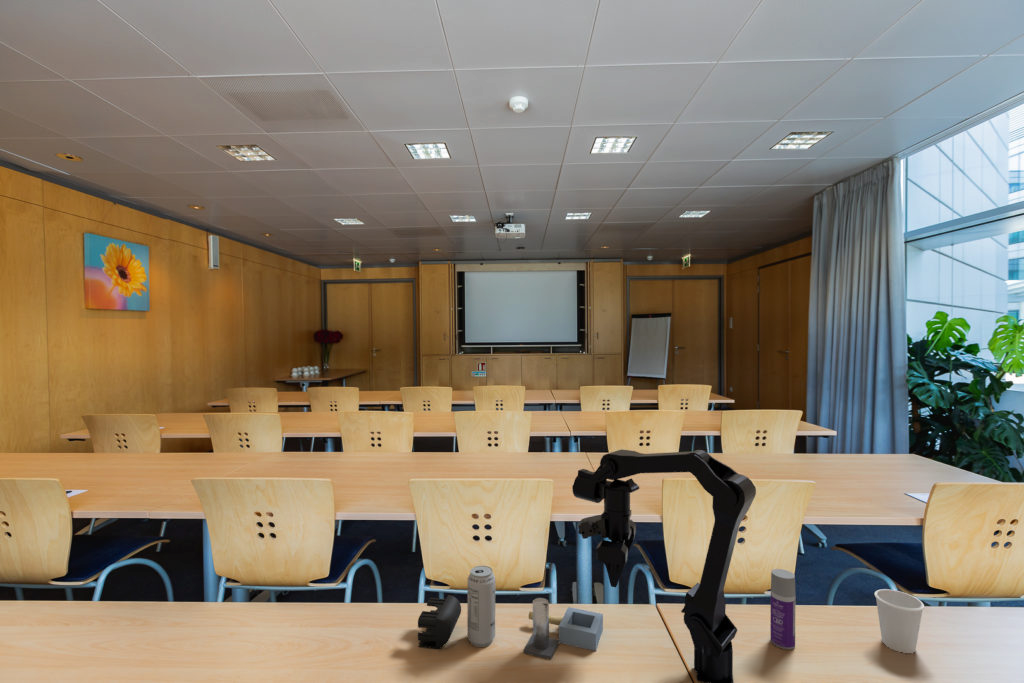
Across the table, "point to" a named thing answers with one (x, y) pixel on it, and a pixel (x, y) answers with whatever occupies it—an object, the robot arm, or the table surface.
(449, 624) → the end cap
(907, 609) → the dixie cup
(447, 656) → the table surface
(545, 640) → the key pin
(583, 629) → the blue-grey block with rod
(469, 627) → the energy drink can
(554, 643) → the mat
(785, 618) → the container
